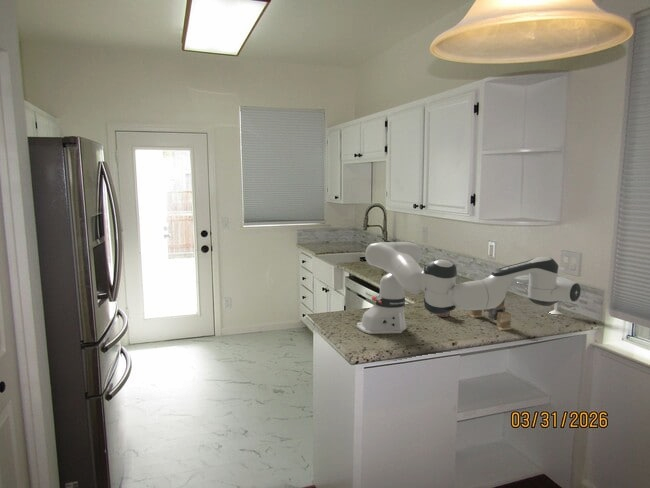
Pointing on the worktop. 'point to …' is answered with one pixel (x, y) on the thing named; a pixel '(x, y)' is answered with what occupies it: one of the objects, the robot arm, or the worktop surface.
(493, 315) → the slider
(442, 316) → the soda can
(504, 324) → the stand
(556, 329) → the worktop surface
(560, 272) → the champagne flute
